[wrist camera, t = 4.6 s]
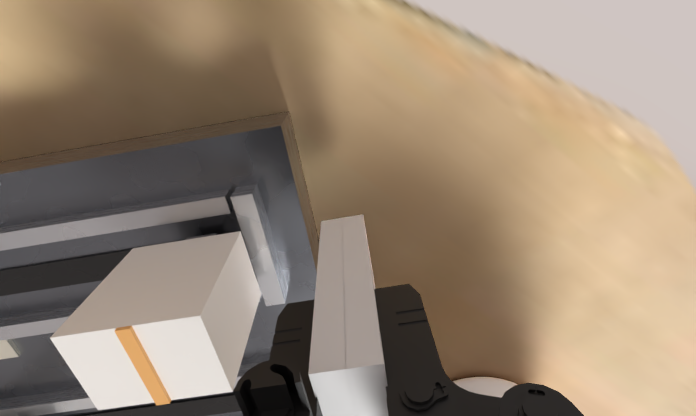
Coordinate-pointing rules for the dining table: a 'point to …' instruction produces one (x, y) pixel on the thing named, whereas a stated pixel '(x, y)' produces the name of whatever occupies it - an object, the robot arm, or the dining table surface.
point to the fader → (164, 323)
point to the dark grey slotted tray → (143, 243)
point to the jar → (485, 385)
